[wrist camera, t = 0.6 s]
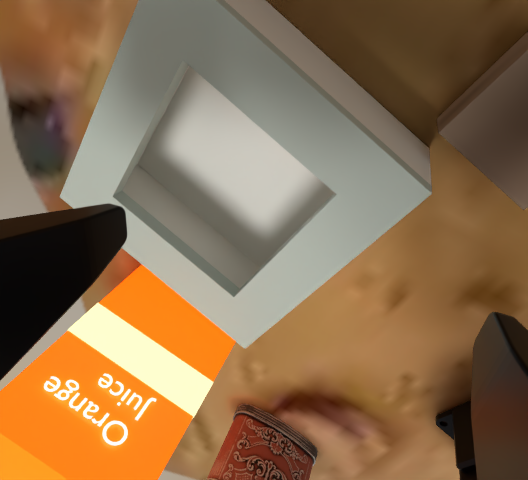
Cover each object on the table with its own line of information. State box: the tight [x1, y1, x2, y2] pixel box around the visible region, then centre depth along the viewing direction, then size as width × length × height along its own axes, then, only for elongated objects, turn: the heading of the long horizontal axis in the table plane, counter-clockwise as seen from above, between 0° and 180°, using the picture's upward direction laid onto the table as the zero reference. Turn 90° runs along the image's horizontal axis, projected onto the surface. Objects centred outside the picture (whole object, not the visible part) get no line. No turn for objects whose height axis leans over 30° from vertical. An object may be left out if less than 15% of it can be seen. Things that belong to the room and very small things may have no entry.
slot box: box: [60, 0, 432, 349], centre depth 20 cm, size 13×13×6 cm
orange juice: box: [0, 265, 236, 480], centre depth 23 cm, size 8×9×20 cm
